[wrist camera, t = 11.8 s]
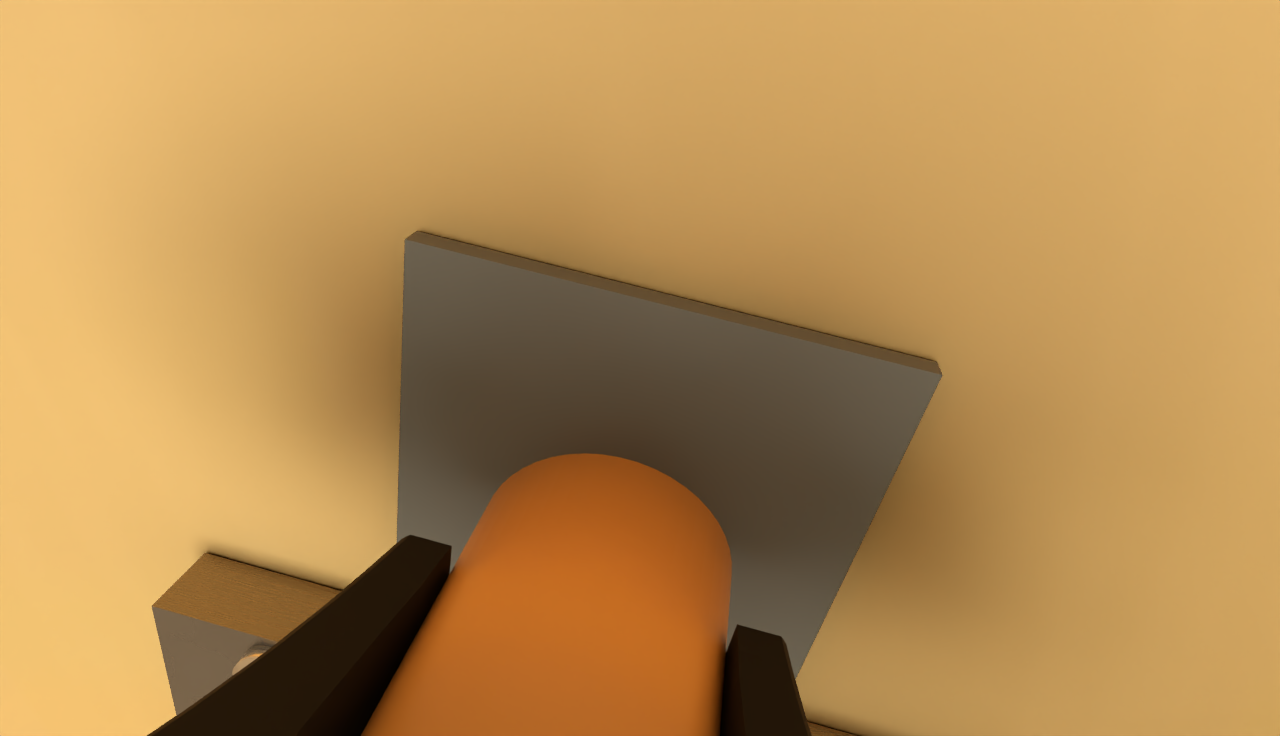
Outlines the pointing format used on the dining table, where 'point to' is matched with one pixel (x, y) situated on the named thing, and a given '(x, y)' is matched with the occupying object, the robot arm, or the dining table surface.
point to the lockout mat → (651, 415)
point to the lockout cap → (574, 613)
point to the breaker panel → (238, 623)
